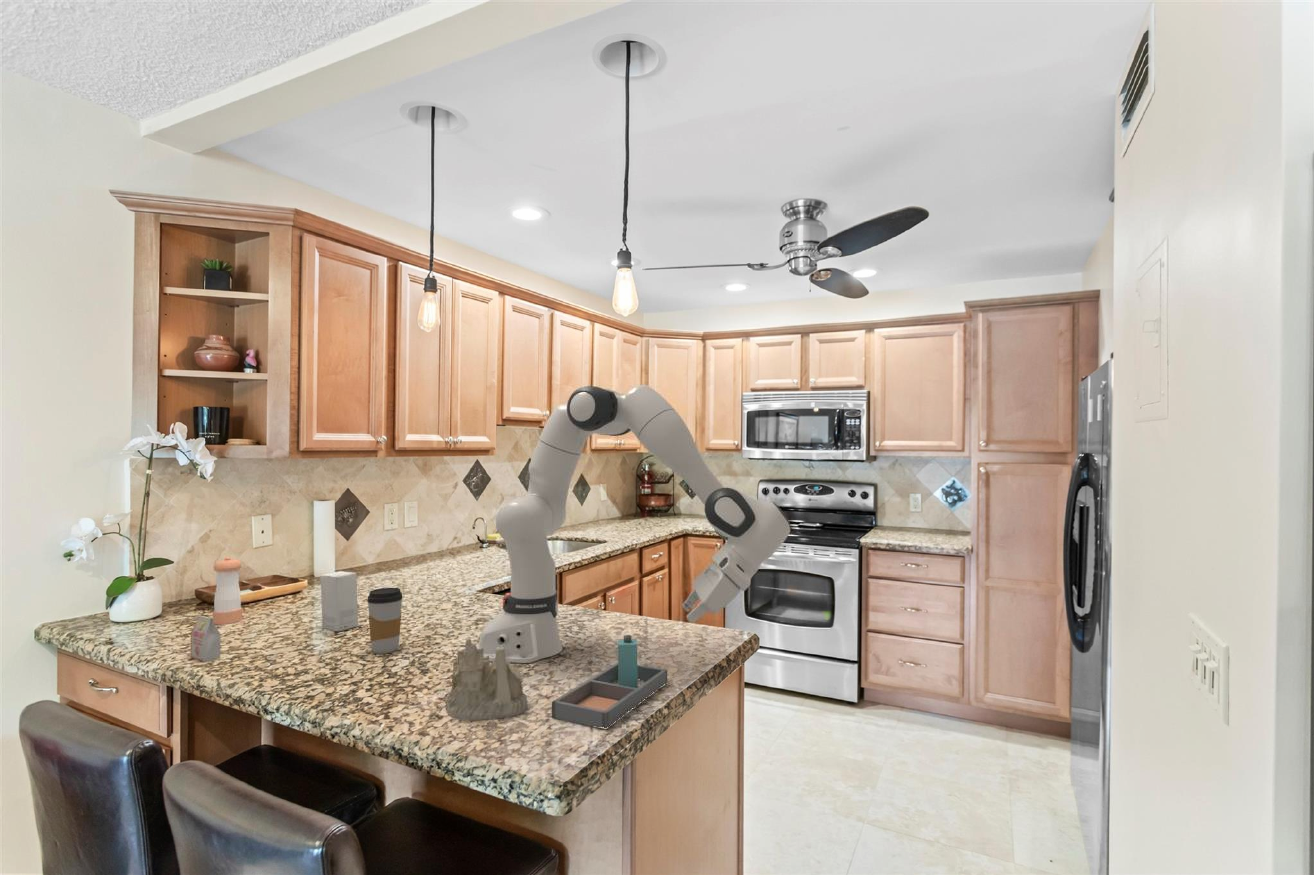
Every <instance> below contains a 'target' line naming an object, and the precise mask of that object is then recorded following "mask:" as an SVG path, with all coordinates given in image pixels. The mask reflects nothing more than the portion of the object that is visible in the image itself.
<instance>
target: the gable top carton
mask: <svg viewBox="0 0 1314 875" xmlns="http://www.w3.org/2000/svg"><path fill="white" fill-rule="evenodd" d="M190 658H191V659H193V660H197V661H199V662H201V663H205V662H209V661H213V660H217V659H220V658H221V633H220V631H219V629H218V627H217V625H216V624H214V622H213V618H211V617H208V616H205V615H204V616H203V615H201V614H200V615H197V619H196V621H195V624H194V625H193V627H192V630H191V631H190Z"/></svg>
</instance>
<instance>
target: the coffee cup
mask: <svg viewBox="0 0 1314 875" xmlns="http://www.w3.org/2000/svg"><path fill="white" fill-rule="evenodd" d="M401 590H402V589H400V588H399V587H382V588H381V587H380V588H376V589H373V590H370V591H369V594H368V596H367V600H366V601H367V602H366V603H367V605H368V622H369V636H370V645H371V646H370V647H371V651H372V653H373V654H379V655H380V654H383V655H384V654H389V653H394V652H395V651H397V650H398V648H399V647H400V646H399V645H400V636H401V623H402V605H403V604H402V603H403V602H402V601H403V593H402V591H401Z"/></svg>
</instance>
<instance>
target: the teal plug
mask: <svg viewBox="0 0 1314 875" xmlns="http://www.w3.org/2000/svg"><path fill="white" fill-rule="evenodd" d="M617 663H618V679H617V680H618V681H617V685H623V686H628V687H633V688H638V687H639V685H638V684H639V683H638V681H639V680H638V665H639V664H638V638H632V635H630V634H625V635H623V638H618V640H617Z"/></svg>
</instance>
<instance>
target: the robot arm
mask: <svg viewBox="0 0 1314 875" xmlns="http://www.w3.org/2000/svg"><path fill="white" fill-rule="evenodd" d="M689 429H690V428H688V426H687V424H686V423H685V422H684V420H683V418H682V416H681V415H680V414H679V413H678V412H677V409H675V408H674V407H673V406H672V405H671V404H670V403H669V401H668V400H667V399H665V398H664V397H663V396H662V395H661V394H660V393H659V392H657V391H656V390H655V389H654V388H652V387H651V386H649V385H646V384H639V385H638V384H637V385H635V386H632V387H631V388H629V389H628V390H627V391H626V392H625V393H624V394H622V393H619V392H617V391H616V390H612V389H608V388H606V389H605V388H602V387H599V386H593V385H587V386H583V387H580V388H577V389H576V390H574V391H573V392H572V393H571V395H570V396H569V398H568V400H567V402H566V403H560V404H558V405H557V406H555V408H554V409H553V411H552V412H551V414H550V415H549V417H548V419H547V421H546V422H545V425H544V426H543V429H542V431H541V433H540V436H539V439H538V441H537V443H536V446H535V449H534V451H533V454H532V456H531V460H530V462H529V464H528V472H529V482H528V489H527V491H526V494H525V495H524V496H522V497H517V498H514V499H511V500H510V501H508V502H507V503H505V504H503V506H502V507H500V508H499V510H498V512H497V513H496V516H495V528H496V531H497V533H498V534H499V535H500V537H501V538H502V540H503V541H504V544H505V548H506V551H507V555H508V560H509V566H510V568H509V569H510V592H507V593H505V595H504V596H503V599H502V611H501V612H499V613H498V614H497V615H496V616H495V617H493V618H492V619H491V620H489V622H487V623H486V624H485V626H483V628H482V630H481V632H480V636H479V641H478V643H475V645H476V647H477V649H479V648H483V649H484V657H486V656H489V662H490V663H492V662H493V660H494V658H495V657H496V648H497V647H504V649H505V658H506V659H507V661H508V662H510V663H520V664H530V663H534V662H536V661H539V660H541V659H546V658H550V657H553V656H556V655H557V654H559V653H561V652H562V651H563V645H562V642H561V638H560V634H559V628H558V617H557V616H558V612H559V607H558V606H559V599H558V593H557V592H556V562H555V560H554V558H553V557H552V554H551V551H550V548H549V544H548V543H549V542H548V536H550V535H552V534H554V533H555V532H557V531H558V530H559V529H561V527H562V526H563V525H564V523H565V521H566V518H567V508H566V507H567V506H566V505H567V500H568V495H569V489H570V486H571V482H572V478H573V476H574V473H575V470H576V468H577V465H578V464H579V460H580V458H581V455H582V452H583V449H584V447H585V445H586V442H587V440H588V439H589V438H590V436H592V435H593V434H596V435H600V436H601V435H602V436H611V437H618V436H625V435H626V434H628V433H630V432H631V433H633V434H634V436H635V437H636V438H637V440H638V441H639V442H640V444H641V445H642V446H643V447H644V448H645V449H646V450H647V451H648V453H650V454H651V455H652V456H653V457H654V458H656V460H659V462H661V463H662V465H665V467H667V468H668V469H670V470H671V471H673V473H675V474H676V475H678V477H680V478H681V479H682V480H683V481H684V482H685V483H686V484H687V485H688V486H689V488H690V489H691V490H692V491H693V493H694V494H695V495H696V496H697V498H698V499H699V500H700V502H702V504H703V505H704V514H705V518H706V520H707V522H708V524H709V525H710V526H711V527H712V528H713V530H714V532H715V533H716V534H717V535H718V536H719V537H720V538H721V539H723V540H725V541H726V542H725V543H724V544H723V545H722V546H721V547H720V548H719V549H718V551H717V552H715V554H713V556H711V560H712V561H713V562H711V563H710V564H709V565H707V566H706V568H704V569H703V571H701V573H699V574H698V575H697V576H696V578H695V579H694V580H693V581H692V587H693V590H692V591H690V594H689V595H688V596H687V598H686V600H685V601H684V602H683V603H682V605H681V606H682V608H683V609H684V610H685V611H686V612H689V613H687V614H686V619H687V621H688V622H689V623H690V624H694V623H696V622H697V620H698V619H700V618H701V617H703V616H705V615H706V614H707V613H708V612H710V613H711V614H712V615H716V614H718V613H719V612H721V611H722V610H723V609H724V608H726V607H727V606H728V605H729V603H731V602H732V601H733V600H734V599H735V598H736V597H737V596H738V595H739V593H740V592H741V591H742V592H745V591H746V590H747V589H748V588H749V587H750V585H751V579H752V578H753V576H754V575H755V574H756V573H757V572H758V570H759V568H760V566H761V565H762V564H763V562H765V561H766V560H768V559H770V558H771V557H772V556H773V555H774V554H775V553H776V552H777V550H778V549H779V548H780V547H781V546H782V545H783V543H784V542H785V541H786V539H787V537H788V536H789V535H790V533H791V524H790V520H789V519H788V518H787V515H786V514H785V512H783V510H782V509H781V508H780V506H778V505H777V504H776V502H773V501H772V500H762V499H757V498H754V497H752V496H749V495H746V494H744V493H742V492H740V491H738V490H736V489H734V488H731V487H724V485H723V484H722V483H721V481H720V480H719V479H718V478H717V477H716V475H714V473H713V472H712V471H711V469H710V468H709V467H708V466H707V464H706V462H705V461H704V460H703V457H702V455H701V453H700V451H699V448H698V446H697V445H696V441H695V439H694V437H693V435H692V433H691V431H690V430H689ZM698 601H699V603H698V604H697V606H695V604H696V603H697V602H698ZM694 606H695V608H694ZM693 608H694V609H693Z"/></svg>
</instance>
